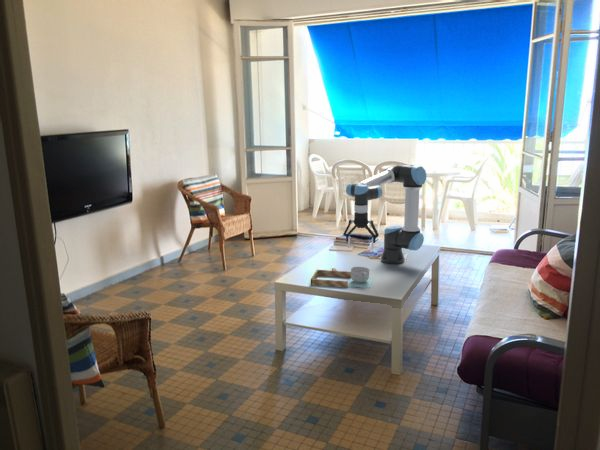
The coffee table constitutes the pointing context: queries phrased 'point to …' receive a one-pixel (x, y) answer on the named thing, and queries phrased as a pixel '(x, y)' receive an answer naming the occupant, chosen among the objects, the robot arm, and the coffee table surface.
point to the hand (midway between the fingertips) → (360, 247)
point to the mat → (360, 284)
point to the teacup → (360, 274)
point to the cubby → (330, 282)
